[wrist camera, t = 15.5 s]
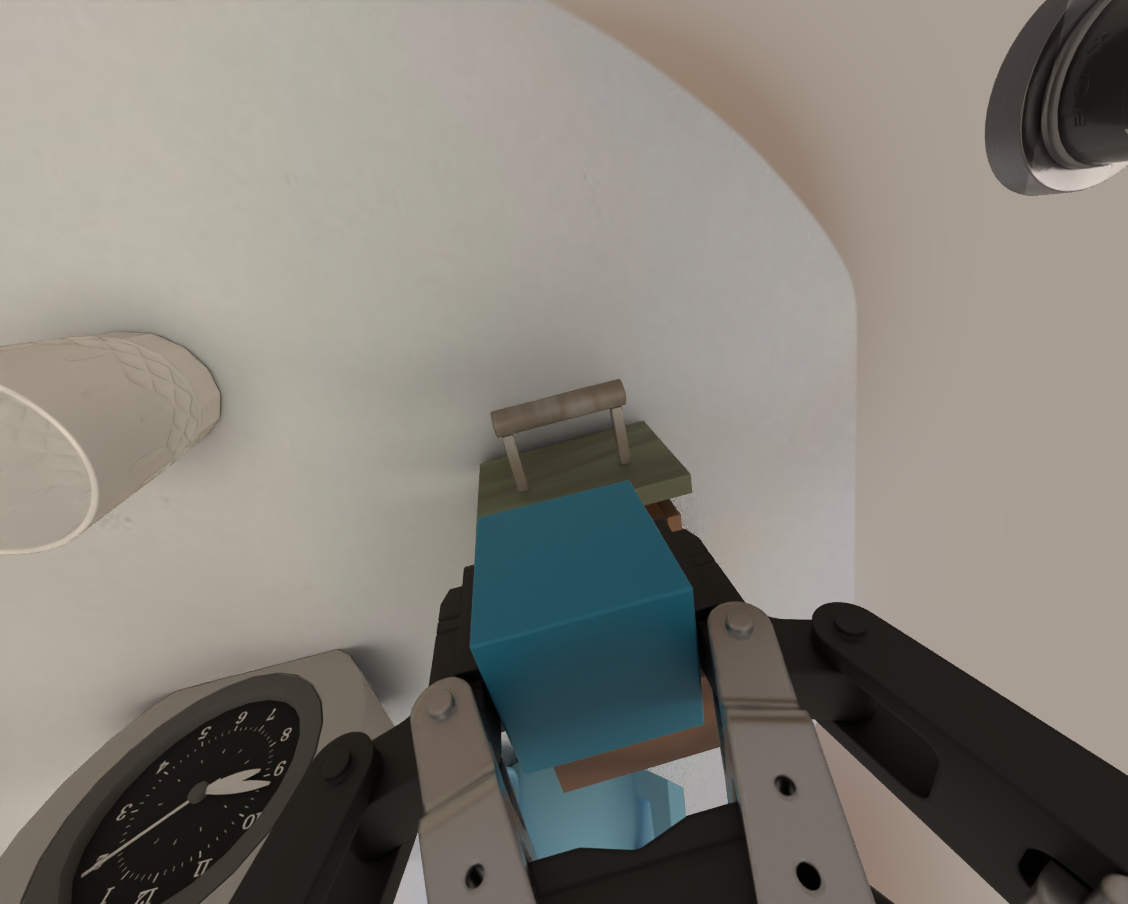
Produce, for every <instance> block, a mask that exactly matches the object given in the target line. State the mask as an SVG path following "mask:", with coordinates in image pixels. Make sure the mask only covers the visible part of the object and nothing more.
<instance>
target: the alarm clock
mask: <svg viewBox="0 0 1128 904" xmlns="http://www.w3.org/2000/svg"><path fill="white" fill-rule="evenodd" d="M393 727H395V726H394V725H393V723H392V721H391V720H390V718H389V716H388V715H387V713H386V711H385V710H384V708H383V706H382V705H381V703H380V701H379V700H378V698H377V697H376V695H375V693H374V692H373V690H372V688H371V687H370V685H369V683H368V682H367V680H366V678H365V677H364V675H363V673H362V672H361V671H360V669H359V668H358V667H357V665H356V664H355V662H354V661H353V660H352V658H351V657H350V656H349V655H348V654H346V653H344V652H342V651H340V650H333V651H329V652H325V653H322V654H318V655H314V656H310V657H306V658H302V659H298V660H295V661H291V662H287V663H283V664H279V665H275V666H271V667H268V668H264V669H260V670H256V671H252V672H248V673H244V674H241V675H237V676H233V677H229V678H225V679H221V680H218V681H214V682H210V683H206V684H202V685H198V686H194V687H191V688H187V689H183V690H179V691H176V692H174V693H173V694H171V695H170V696H168V697H166V698H165V699H163V700H162V701H160V702H159V703H157V704H155V705H154V706H153V707H151V708H150V709H149V710H147V711H146V712H145V713H144V714H142V715H141V716H140V717H138V718H137V719H136V720H135V721H133V722H132V723H131V724H129V725H128V726H127V727H125V728H124V729H123V730H122V731H120V732H119V733H118V734H116V735H115V736H114V737H113V738H111V739H110V740H109V741H108V742H107V743H106V744H105V745H103V746H102V747H101V748H100V749H99V750H98V751H97V752H96V753H95V754H94V755H93V756H92V757H90V758H89V759H88V760H87V761H86V762H85V763H84V764H83V765H82V766H81V767H80V768H79V769H77V770H76V771H75V772H74V773H73V774H72V775H71V776H70V777H69V778H68V779H67V780H66V781H64V782H63V784H62V785H61V786H60V787H59V788H58V789H57V790H56V791H55V792H54V794H53V795H52V796H51V797H50V798H49V799H48V800H47V801H46V802H45V804H44V805H43V806H42V807H41V808H40V809H39V810H38V811H37V812H36V814H35V815H34V816H33V817H32V818H31V819H30V820H29V821H28V822H27V824H26V825H25V826H24V827H23V828H22V829H21V830H20V831H19V832H18V834H17V835H16V836H15V838H14V839H13V841H12V842H11V843H10V845H9V846H8V848H7V849H6V850H5V852H4V853H3V854H2V856H1V857H0V904H228V903H229V901H230V900H231V898H232V896H233V895H234V893H235V891H236V890H237V888H238V886H239V884H240V883H241V881H242V879H243V878H244V876H245V874H246V872H247V871H248V869H249V867H250V866H251V864H252V862H253V861H254V859H255V857H256V855H257V854H258V852H259V850H260V849H261V847H262V845H263V844H264V842H265V840H266V838H267V837H268V835H269V833H270V832H271V830H272V828H273V826H274V825H275V823H276V821H277V820H278V818H279V816H280V815H281V813H282V811H283V809H284V808H285V806H286V804H287V803H288V801H289V799H290V797H291V796H292V794H293V792H294V791H295V789H296V787H297V786H298V784H299V782H300V780H301V779H302V777H303V775H304V774H305V772H306V770H307V769H308V767H309V765H310V764H311V762H312V761H313V759H314V758H315V757H316V755H317V754H318V753H319V752H320V751H321V750H322V749H323V748H324V747H325V746H326V745H327V744H328V743H330V742H331V741H333V740H334V739H335V738H337V737H339V736H341V735H343V734H346V733H349V732H356V731H358V732H363V733H365V734H367V735H368V736H369V737H370V739H371V740H373V739H375V738H376V737H378V736H380V735H382V734H383V733H385V732H387V731H388V730H390V729H392V728H393Z"/></svg>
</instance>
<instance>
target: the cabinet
mask: <svg viewBox="0 0 1128 904" xmlns="http://www.w3.org/2000/svg"><path fill="white" fill-rule="evenodd" d="M701 687H702V699H703V710H704V724H703V725H700V726H697V727H693V728H690V729H686V730H683V731H679V732H675V733H672V734H668V735H665V736H661V737H658V738H654V739H651V740H647V741H644V742H640V743H636V744H633V745H629V746H626V747H622V748H619V749H615V750H612V751H608V752H605V753H601V754H598V755H594V756H590V757H587V758H583V759H580V760H576V761H573V762H569V763H566V764H562V765H559V766H555V767H553V768H554V770H555V773H556V775H557V778H558V780H559V783H560V785H561V788H562V790H563V792H564V793H566V792H570V791H573V790H576V789H580V788H583V787H586V786H590V785H593V784H597V783H600V782H603V781H607V780H610V779H613V778H617V777H620V776H624V775H627V774H630V773H634V772H637V771H640V770H644V769H647V768H650V767H654V766H657V765H661V764H664V763H667V762H671V761H674V760H677V759H681V758H684V757H688V756H691V755H694V754H698V753H701V752H704V751H708V750H711V749H714V748H718V747H720V743H719V736H718V730H717V723H716V717H715V710H714V704H713V693H712V688H711V686H710V684H709V682H708V680H707V678H706V676H705V677H701Z"/></svg>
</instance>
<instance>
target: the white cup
mask: <svg viewBox="0 0 1128 904" xmlns="http://www.w3.org/2000/svg"><path fill="white" fill-rule="evenodd" d="M219 418H220V392H219V390H218V388H217V386H216V384H215V382H214V380H213V378H212V376H211V374H210V372H209V370H208V369H207V368H206V367H205V366H204V365H203V364H202V363H201V362H200V361H199V360H197V359H196V358H195V357H194V356H193V355H192V354H191V353H190V352H189V351H188V350H187V349H185V348H184V347H182V346H180V345H177V344H175V343H173V342H171V341H168V340H166V339H164V338H162V337H159V336H157V335H155V334H151V333H136V332H121V331H120V332H112V333H106V334H100V335H94V336H80V337H68V338H59V339H54V340H48V341H37V342H27V343H19V344H12V345H6V346H0V554H1V555H21V554H32V553H38V552H43V551H47V550H51V549H54V548H57V547H59V546H62V545H64V544H66V543H68V542H70V541H72V540H73V539H75V538H76V537H78V536H79V535H80V534H82V533H83V532H84V531H86V530H87V529H88V528H89V527H91V526H92V525H93V524H95V523H96V522H97V521H99V520H100V519H101V518H102V517H104V516H105V515H106V514H108V513H109V512H110V511H112V510H113V509H114V508H116V507H117V506H118V505H120V504H121V503H122V502H124V501H125V500H126V499H128V498H129V497H130V496H132V495H133V494H134V493H136V492H137V491H138V490H139V489H141V488H142V487H143V486H145V485H146V484H147V483H149V482H150V481H151V480H153V479H154V478H155V477H157V476H158V475H159V474H160V473H161V472H162V471H164V470H165V469H166V468H167V467H168V466H170V465H171V464H173V463H174V462H175V461H176V460H177V459H179V458H180V457H181V456H182V455H183V454H184V453H185V452H186V451H187V450H188V449H189V448H190V447H192V446H193V445H194V444H196V443H197V442H199V441H200V440H201V439H203V438H204V437H205V436H206V435H207V434H208V433H209V431H210V430H211V429H212V427H213V426H214V425H215V423H216V422H217V421H218V419H219Z"/></svg>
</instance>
